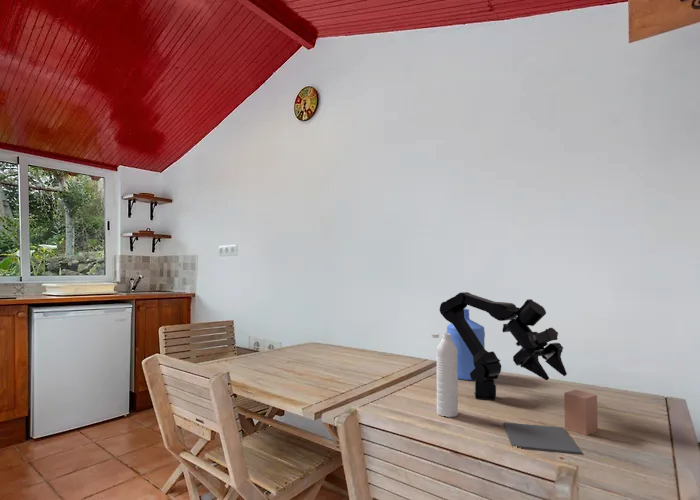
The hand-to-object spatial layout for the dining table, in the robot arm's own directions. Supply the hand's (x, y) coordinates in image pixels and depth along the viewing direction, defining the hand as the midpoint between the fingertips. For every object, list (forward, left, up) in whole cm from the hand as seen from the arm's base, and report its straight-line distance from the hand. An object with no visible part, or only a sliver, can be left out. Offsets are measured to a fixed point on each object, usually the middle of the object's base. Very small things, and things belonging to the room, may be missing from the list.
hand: (557, 377), depth 122 cm
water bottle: (-33, -2, -13) cm, 36 cm away
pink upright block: (+5, -5, -13) cm, 15 cm away
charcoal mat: (-8, -14, -13) cm, 21 cm away
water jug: (-24, +47, -13) cm, 55 cm away
